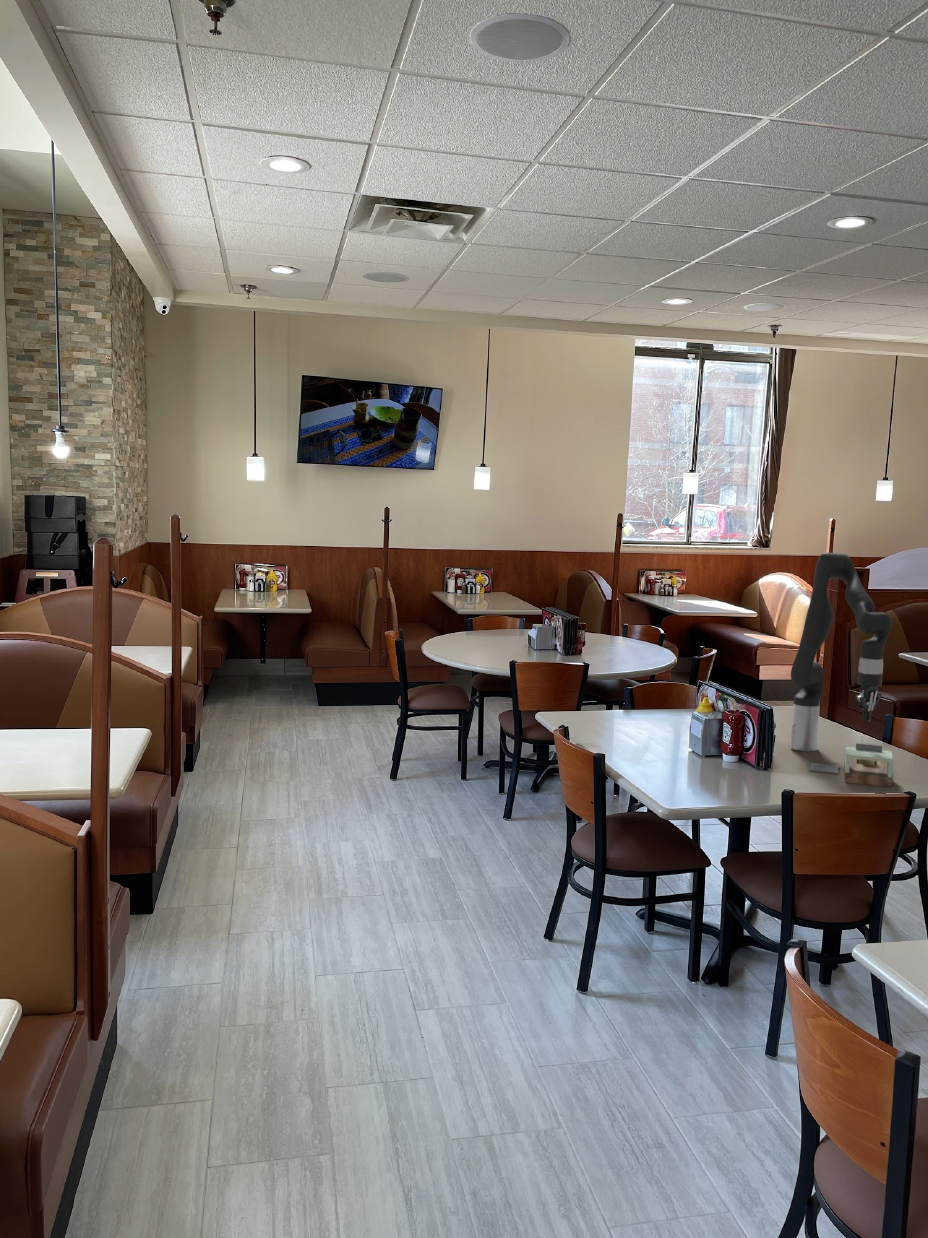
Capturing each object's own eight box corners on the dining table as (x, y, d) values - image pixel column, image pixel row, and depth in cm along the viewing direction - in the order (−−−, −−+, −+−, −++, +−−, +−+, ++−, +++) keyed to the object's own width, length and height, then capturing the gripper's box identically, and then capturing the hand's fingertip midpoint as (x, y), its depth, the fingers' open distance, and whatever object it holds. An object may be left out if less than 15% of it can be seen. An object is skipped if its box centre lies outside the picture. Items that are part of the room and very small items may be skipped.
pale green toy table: (845, 772, 298) (846, 748, 297) (845, 764, 308) (846, 740, 307) (891, 777, 292) (893, 753, 292) (890, 768, 303) (891, 745, 302)
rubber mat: (809, 771, 311) (810, 769, 311) (810, 764, 319) (810, 762, 319) (838, 774, 307) (838, 772, 307) (838, 767, 316) (838, 765, 316)
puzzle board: (844, 782, 299) (845, 773, 298) (844, 762, 322) (844, 754, 321) (891, 787, 293) (891, 778, 293) (887, 767, 316) (887, 758, 316)
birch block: (859, 767, 310) (860, 750, 310) (859, 764, 314) (860, 747, 314) (873, 769, 309) (874, 752, 308) (873, 765, 313) (874, 748, 312)
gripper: (870, 667, 310) (866, 716, 312) (849, 671, 302) (845, 721, 304) (891, 671, 304) (887, 721, 306) (870, 675, 296) (866, 726, 299)
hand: (866, 721), depth 305 cm, fingers closed
